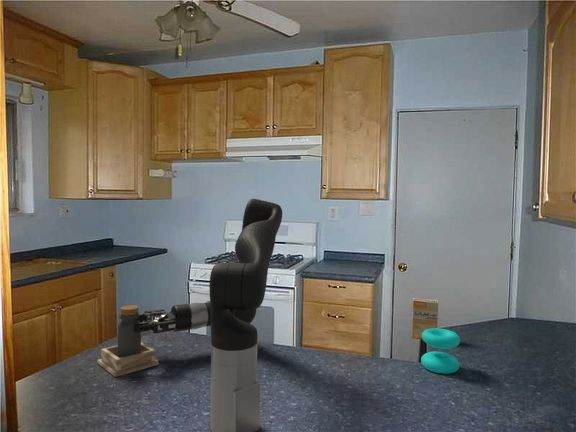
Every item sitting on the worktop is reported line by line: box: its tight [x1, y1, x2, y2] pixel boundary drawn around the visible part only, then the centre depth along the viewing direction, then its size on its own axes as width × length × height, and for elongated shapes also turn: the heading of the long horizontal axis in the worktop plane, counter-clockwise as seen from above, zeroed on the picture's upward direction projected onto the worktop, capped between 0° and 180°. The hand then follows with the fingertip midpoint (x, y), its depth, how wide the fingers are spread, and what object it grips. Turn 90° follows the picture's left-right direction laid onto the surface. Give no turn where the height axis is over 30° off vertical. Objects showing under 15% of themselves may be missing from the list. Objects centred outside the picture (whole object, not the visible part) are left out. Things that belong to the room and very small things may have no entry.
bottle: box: [117, 304, 142, 358], centre depth 114 cm, size 6×6×15 cm
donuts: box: [420, 327, 461, 375], centre depth 116 cm, size 10×10×10 cm
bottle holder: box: [97, 341, 160, 378], centre depth 115 cm, size 12×12×4 cm
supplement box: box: [411, 297, 439, 341], centre depth 141 cm, size 8×5×13 cm, turn 73°
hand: (131, 324), depth 115 cm, fingers open, 8 cm apart
